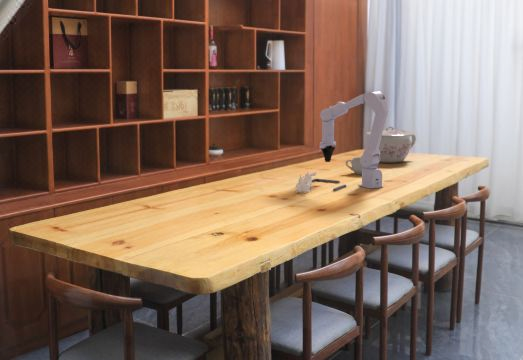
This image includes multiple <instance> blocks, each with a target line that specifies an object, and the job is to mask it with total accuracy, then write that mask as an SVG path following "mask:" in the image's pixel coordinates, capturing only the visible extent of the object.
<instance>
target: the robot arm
mask: <svg viewBox="0 0 523 360" xmlns="http://www.w3.org/2000/svg"><path fill="white" fill-rule="evenodd" d="M361 104H362V105H364V104H365V105H366V106H368V107H369V108H370V109H371V110H372V111H373V113H374V116H373V117H374V118H373V121H372V126H371V129H370V131H371V133H370V135H369V138H368V141H367V146H366V148H365V149H364V150H363V153H362V155H361V156H360V157H361V158H360V164H361V165H362V175H361V183H359V184H357V186H358V187H363V188H365V189H378V188H384V185H383V172H382V171H381V169H379V168H378V167H379V163H381V162H380V150H379V145H380V141H381V137H382V133H383V130H384V129H385V124H386V121H387V117H388V112H389V111H388V106H387V97H386V96H385V94H384V93H383V92H382V91H380V90H376V91H367V92H364V93H362V94H359V95H358V96H356V97H354V98H351V100H348V101H346V102H344V101H337V102H336V104H335V105H334V104H333V105H330V106H328V108H323V109H322V110H321V111H320V113H319V114H320V115H319V117H320V119H321V142H319V147H318V148H319V149H320V151H321V152H322V154H323V158H324V161H325V163H330V162H331V160H332V156H333V153H334V150H335V149H336V148H335V147H336V146H337V141H336V140H335V120H336V119H337V118H339V117H340V116H343V115H345V114H347V113H348V112H349V109H352V108H355V107H357V106H359V105H361Z"/></svg>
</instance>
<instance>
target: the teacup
mask: <svg viewBox="0 0 523 360" xmlns="http://www.w3.org/2000/svg"><path fill="white" fill-rule="evenodd" d="M360 158H361V156H359V157H357V156H356V157H352V158H351V159H347V160H346V161H345V165H346V167H347V168H348V169H350V170H351V171H352V172H353V173H354V174H356V175H361V176H362V165H361V164H360ZM349 162H350V164H351V166H350V165H349V164H348V163H349Z"/></svg>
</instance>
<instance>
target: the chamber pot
mask: <svg viewBox="0 0 523 360" xmlns="http://www.w3.org/2000/svg"><path fill="white" fill-rule="evenodd" d="M370 133H371V130H370V131H367V132H366V133H365V134H366V135H368V136H370ZM410 137H411V140H410ZM416 141H417V140H416V135H415V134H414V133H413V132H411V131H407V130H401V129H394V127H393V126H391V125H390V126H387V127H386V128H384V129H383V133H382V137H381V141H380V145H379V150H380V162H379V163H382V164H398V163H401V162H404V161H405V159H407V158H408V156H409V154H410V151H411V149H412V148H413V147H414V145H415V144H416Z"/></svg>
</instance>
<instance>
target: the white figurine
mask: <svg viewBox="0 0 523 360" xmlns="http://www.w3.org/2000/svg"><path fill="white" fill-rule="evenodd" d="M316 175H317V171H314V172H312V173H309V171H306V174H304V176H302V175H301V174H300V175H299V178H298V181H297V183H296V185H295V191H296V193H299V194H306V193H307V192H308V193H311V187H312V185H313V183H312V181H311V180H313V179H312V177H315V176H316Z"/></svg>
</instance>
